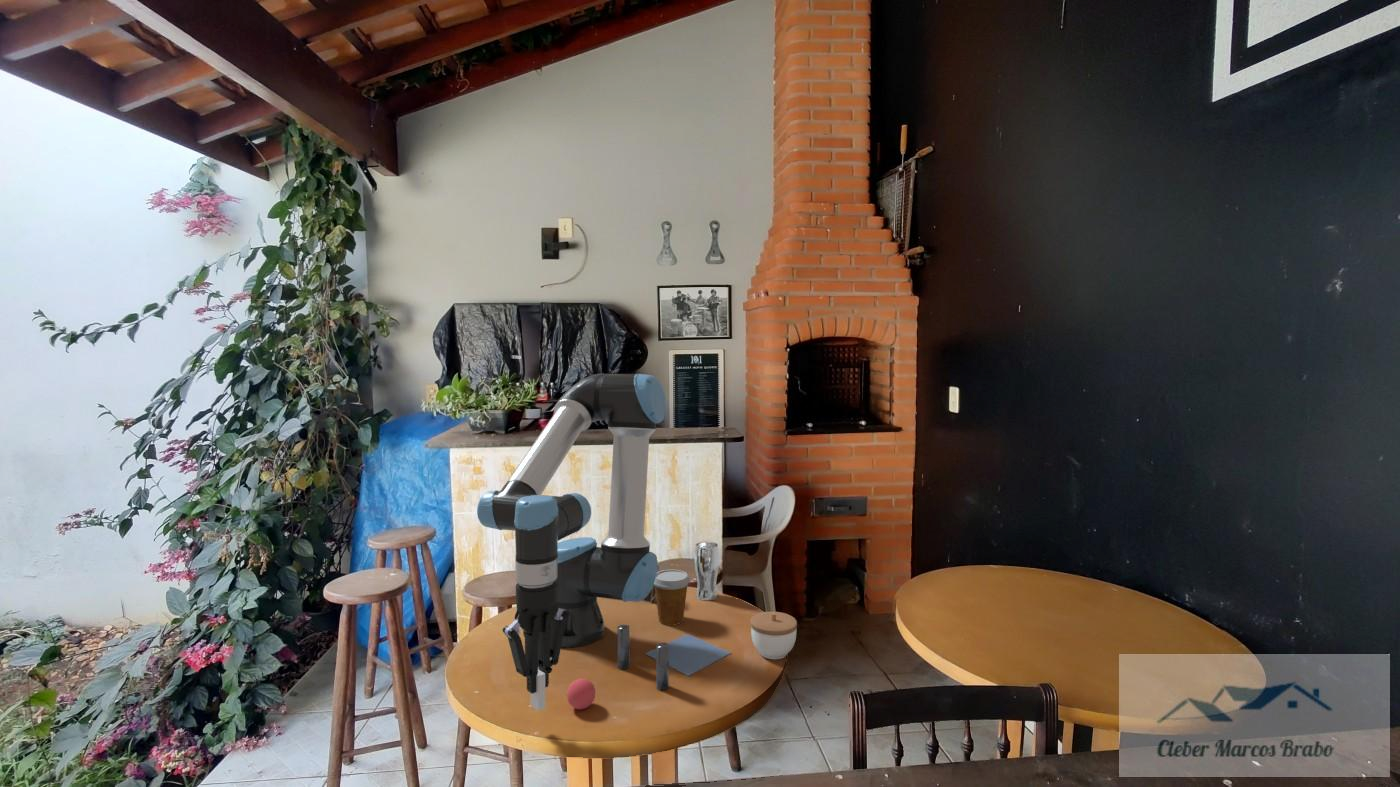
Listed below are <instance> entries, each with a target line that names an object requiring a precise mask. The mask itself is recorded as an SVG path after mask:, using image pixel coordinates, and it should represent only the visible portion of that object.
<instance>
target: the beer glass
mask: <svg viewBox="0 0 1400 787" xmlns="http://www.w3.org/2000/svg"><path fill="white" fill-rule="evenodd" d="M694 547H695V549H694V570H695V575H696V579H697V580H696V582H697V586H696V587H697V589H696V595H695V597H696V599H698V600H701V601H705V602H706V601H713V600H716V599H717V598H718V592H717V591H718V590H717V579H718V572H719V566H720V551H719V544H718V543H717V542H715V541H714V542H713V541H707V540H706V541H699V542H697V543H695V546H694Z"/></svg>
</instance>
